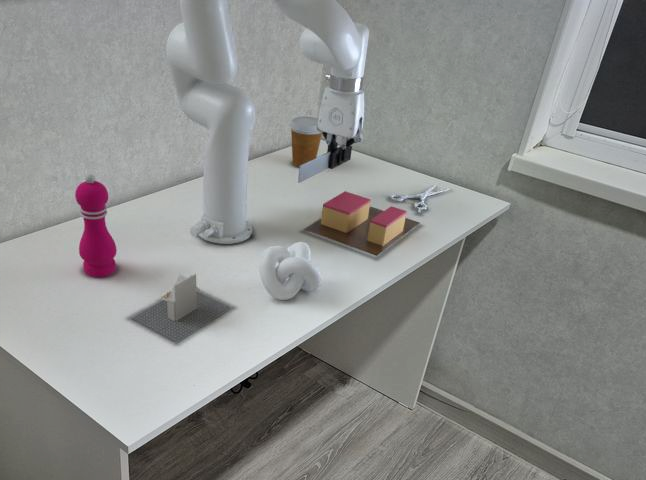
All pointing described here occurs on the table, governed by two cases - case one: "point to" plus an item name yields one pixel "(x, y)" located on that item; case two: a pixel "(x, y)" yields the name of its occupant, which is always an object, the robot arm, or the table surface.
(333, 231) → the cake board
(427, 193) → the scissors
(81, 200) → the pepper mill
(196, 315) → the architectural model
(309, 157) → the disposable coffee cup
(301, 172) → the knife
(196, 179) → the table surface
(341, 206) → the cake
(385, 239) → the cake slice
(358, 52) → the robot arm
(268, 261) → the white knot sculpture
